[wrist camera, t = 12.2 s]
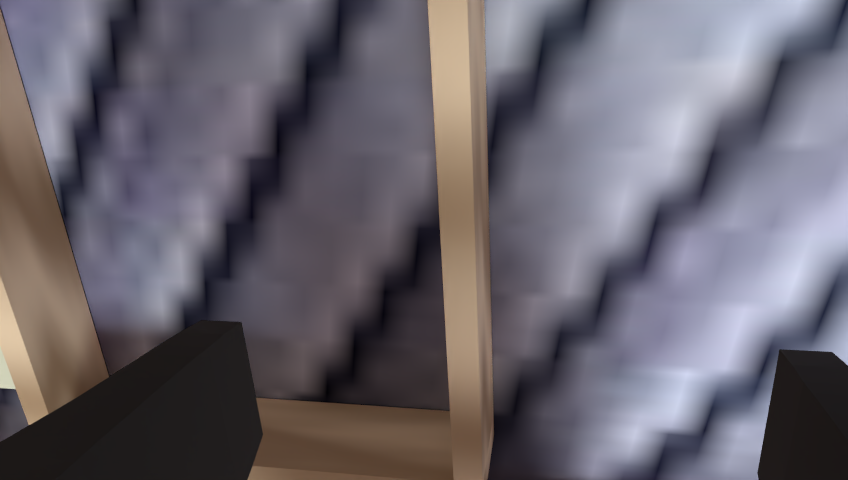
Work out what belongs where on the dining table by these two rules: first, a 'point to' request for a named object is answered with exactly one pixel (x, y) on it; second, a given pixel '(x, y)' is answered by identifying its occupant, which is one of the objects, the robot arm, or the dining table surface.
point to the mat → (5, 374)
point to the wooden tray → (280, 419)
